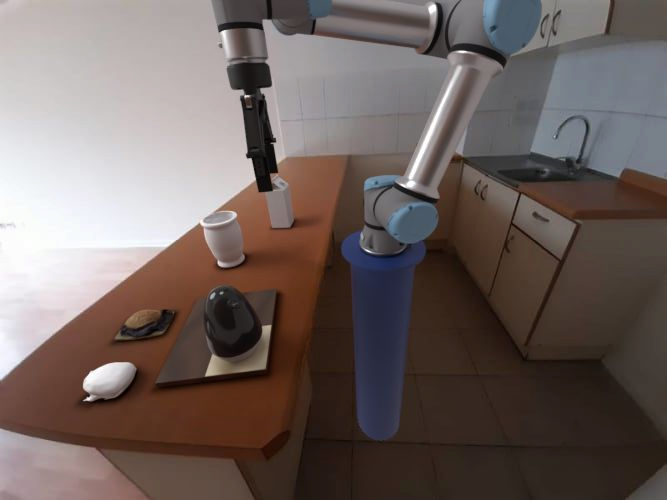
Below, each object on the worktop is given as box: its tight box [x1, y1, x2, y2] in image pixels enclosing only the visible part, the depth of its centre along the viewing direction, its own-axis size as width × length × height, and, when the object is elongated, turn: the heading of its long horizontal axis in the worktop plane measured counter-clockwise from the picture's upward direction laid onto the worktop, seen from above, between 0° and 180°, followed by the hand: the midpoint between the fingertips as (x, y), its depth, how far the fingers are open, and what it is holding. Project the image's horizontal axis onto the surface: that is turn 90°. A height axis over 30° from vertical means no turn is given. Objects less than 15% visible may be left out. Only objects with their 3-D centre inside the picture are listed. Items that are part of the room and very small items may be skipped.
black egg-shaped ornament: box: [204, 284, 263, 362], centre depth 51 cm, size 10×10×15 cm
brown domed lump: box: [114, 308, 176, 342], centre depth 64 cm, size 11×8×4 cm
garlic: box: [82, 361, 137, 403], centre depth 51 cm, size 8×7×4 cm
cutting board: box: [154, 288, 278, 389], centre depth 61 cm, size 20×24×2 cm
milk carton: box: [264, 173, 295, 229], centre depth 105 cm, size 7×7×19 cm
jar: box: [199, 210, 246, 269], centre depth 84 cm, size 11×10×15 cm
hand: (269, 181), depth 60 cm, fingers open, 13 cm apart
